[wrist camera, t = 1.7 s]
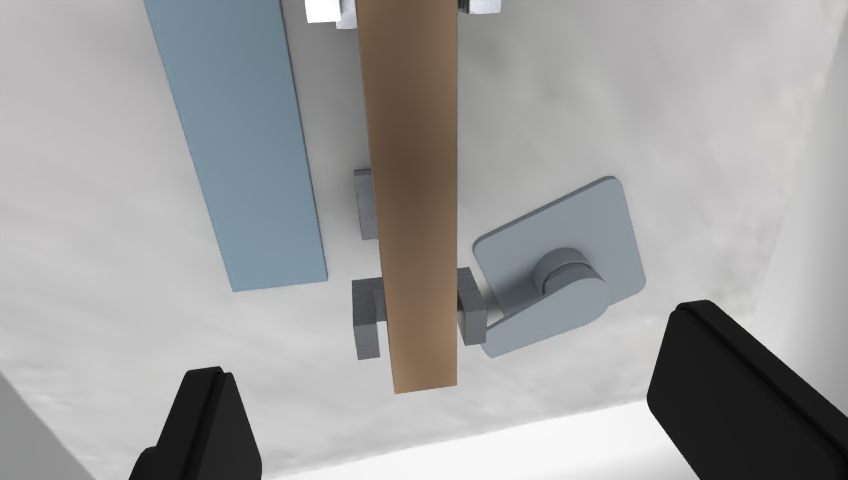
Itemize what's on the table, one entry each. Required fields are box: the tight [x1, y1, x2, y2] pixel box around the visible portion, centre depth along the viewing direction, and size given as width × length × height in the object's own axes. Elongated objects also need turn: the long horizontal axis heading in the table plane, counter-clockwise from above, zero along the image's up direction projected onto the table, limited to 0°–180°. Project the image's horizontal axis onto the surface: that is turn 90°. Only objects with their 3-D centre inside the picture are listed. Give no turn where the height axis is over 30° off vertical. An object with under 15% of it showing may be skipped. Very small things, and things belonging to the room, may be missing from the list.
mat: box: [143, 0, 328, 292], centre depth 28 cm, size 7×26×1 cm, turn 2°
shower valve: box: [473, 176, 646, 358], centre depth 37 cm, size 12×6×15 cm
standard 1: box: [352, 169, 487, 360], centre depth 27 cm, size 6×5×14 cm
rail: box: [355, 0, 457, 394], centre depth 18 cm, size 3×20×3 cm, turn 2°
